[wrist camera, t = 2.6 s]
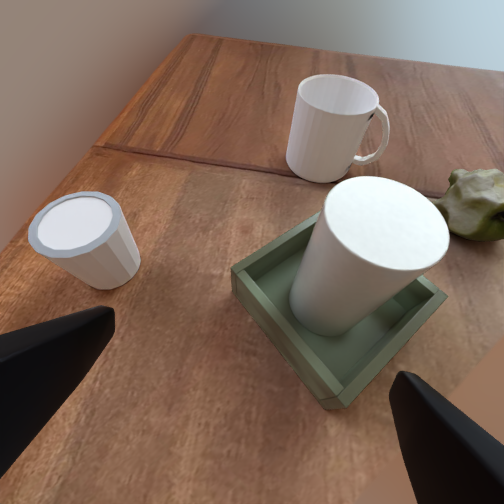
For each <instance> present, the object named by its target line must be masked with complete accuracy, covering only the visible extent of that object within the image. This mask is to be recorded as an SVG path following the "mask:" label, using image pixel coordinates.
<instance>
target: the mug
mask: <svg viewBox="0 0 504 504" xmlns="http://www.w3.org/2000/svg"><path fill="white" fill-rule="evenodd" d="M378 103H379V97H378V95H377V93H376V92H375V91H374V90H373V89H372V88H371V87H370V86H368V85H367V84H365V83H363V82H361V81H359V80H356V79H353V78H350V77H346V76H341V75H332V74H322V75H315V76H311V77H309V78H306V79H305V80H303V81H302V82H301V83H300V84H299V87H298V92H297V98H296V103H295V109H294V114H293V120H292V125H291V131H290V136H289V142H288V147H287V153H286V161H287V164H288V166H289V167H290V169H291V170H292V171H293V172H294V173H295V174H296V175H298V176H299V177H301V178H303V179H305V180H308V181H311V182H317V183H329V182H333V181H336V180H338V179H340V178H342V177H343V176H344V175H346V173H347V172H348V170H349V168H350V166H351V164H352V163H354V164H357V165H361V166H362V165H366V164H370V162H371V163H372V162H373V161H376V160H378V159H379V158H380V156H381V154H382V153H383V152H384V150H385V149H386V146H387V144H388V139H389V131H390V124H389V120H388V116H387V112H386V111H385V110H384V109H383V108H382V107H381V106H380V105H379V104H378ZM374 113H375V114H376V116H377V117H378V118H379V119H380V120H381V121H382V128H383V137H382V141H381V145H380V147H379V148H378V150H377V151H376V152H375V153H373V154H372V155H371V154H369V155H368V156H367V157H360V156H356V152H357V150H358V148H359V146H360V144H361V141H362V139H363V137H364V135H365V132H366V130H367V128H368V126H369V123H370V121H371V119H372V117H373V114H374Z"/></svg>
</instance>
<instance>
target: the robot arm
mask: <svg viewBox="0 0 504 504" xmlns="http://www.w3.org/2000/svg"><path fill="white" fill-rule="evenodd" d="M114 332H115V312H114V309H113V308H111V307H107V306H102V305H100V306H96V307H93V308H89V309H86V310H83V311H79V312H76V313H73V314H69V315H66V316H62V317H59V318H56V319H52V320H49V321H46V322H42V323H39V324H36V325H32V326H29V327H25V328H22V329H19V330H15V331H12V332H9V333H5V334H2V335H0V479H1V477H2V476H3V475H4V474H5V473H6V471H7V470H8V469H9V468H10V467H11V465H12V464H13V463H14V462H15V461H16V459H17V458H18V457H19V456H20V455H21V453H22V452H23V451H24V450H25V449H26V447H27V446H28V445H29V444H30V443H31V441H32V440H33V439H34V438H35V437H36V435H37V434H38V433H39V432H40V431H41V429H42V428H43V427H44V426H45V425H46V423H47V422H48V421H49V420H50V419H51V417H52V416H53V415H54V414H55V413H56V411H57V410H58V409H59V408H60V407H61V405H62V404H63V403H64V402H65V401H66V399H67V398H68V397H69V396H70V395H71V393H72V392H73V391H74V390H75V389H76V387H77V386H78V385H79V384H80V382H81V381H82V380H83V379H84V377H85V376H86V374H87V373H88V372H89V370H90V369H91V367H92V366H93V364H94V363H95V362H96V360H97V359H98V357H99V356H100V354H101V353H102V351H103V350H104V348H105V347H106V346H107V344H108V343H109V341H110V340H111V338H112V337H113V335H114ZM389 401H390V405H391V409H392V414H393V418H394V423H395V427H396V431H397V436H398V440H399V444H400V449H401V452H402V456H403V460H404V463H405V466H406V469H407V472H408V476H409V479H410V482H411V485H412V488H413V491H414V494H415V497H416V500H417V503H418V504H504V445H503V444H501V443H500V442H499V441H497V440H496V439H495V438H494V437H493V436H491V435H490V434H489V433H488V432H486V431H485V430H484V429H483V428H482V427H480V426H479V425H478V424H477V423H475V422H474V421H473V420H472V419H470V418H469V417H468V416H467V415H466V414H464V413H463V412H462V411H461V410H459V409H458V408H457V407H455V406H454V405H453V404H452V403H451V402H449V401H448V400H447V399H446V398H445V397H443V396H442V395H441V394H440V393H438V392H437V391H436V390H435V389H433V388H432V387H431V386H430V385H429V384H427V383H426V382H425V381H424V380H422V379H421V378H420V377H419V376H417V375H416V374H414V373H410V372H405V371H400V372H398V374H397V375H396V378H395V380H394V382H393V384H392V387H391V389H390V392H389Z"/></svg>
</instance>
